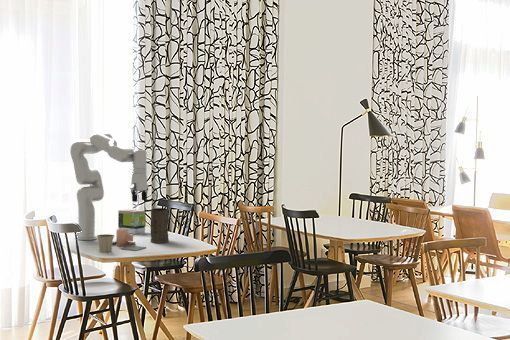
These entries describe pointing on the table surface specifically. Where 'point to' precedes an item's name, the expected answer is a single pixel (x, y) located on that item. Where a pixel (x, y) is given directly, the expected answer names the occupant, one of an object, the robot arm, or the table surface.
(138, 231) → the tea box
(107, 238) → the flower pot
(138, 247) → the coaster
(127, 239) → the jug
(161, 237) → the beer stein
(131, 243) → the cradle
